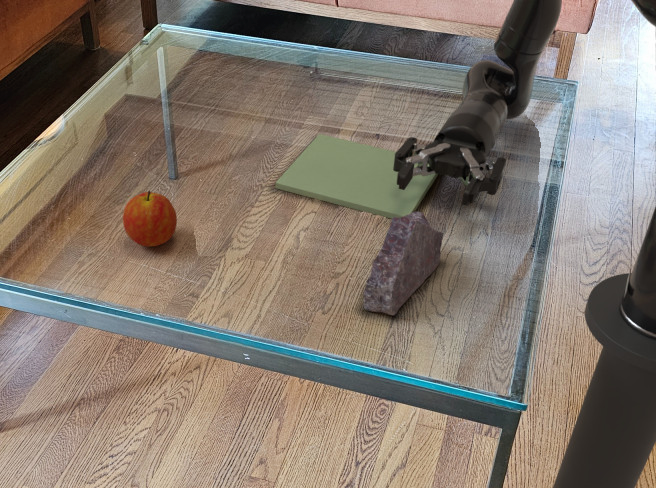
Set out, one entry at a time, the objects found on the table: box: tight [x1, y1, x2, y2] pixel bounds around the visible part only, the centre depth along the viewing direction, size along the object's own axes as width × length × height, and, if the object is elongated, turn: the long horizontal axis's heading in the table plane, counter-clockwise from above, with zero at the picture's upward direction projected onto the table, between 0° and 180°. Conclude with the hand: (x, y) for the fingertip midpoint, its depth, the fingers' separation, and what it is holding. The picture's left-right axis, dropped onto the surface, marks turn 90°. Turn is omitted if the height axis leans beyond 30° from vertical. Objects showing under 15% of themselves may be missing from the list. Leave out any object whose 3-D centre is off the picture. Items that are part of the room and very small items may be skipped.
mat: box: [275, 133, 439, 220], centre depth 123 cm, size 20×16×1 cm
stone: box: [362, 211, 444, 316], centre depth 101 cm, size 10×6×15 cm
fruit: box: [122, 190, 178, 248], centre depth 109 cm, size 7×7×8 cm
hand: (433, 191), depth 109 cm, fingers open, 8 cm apart
